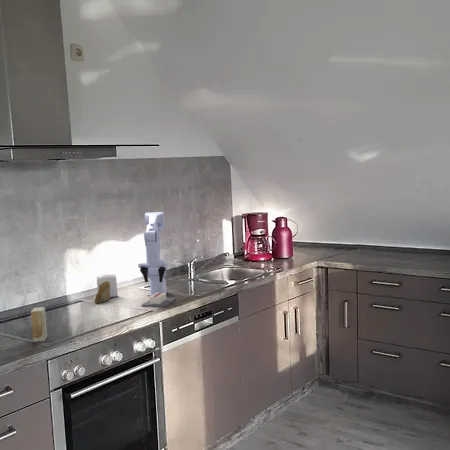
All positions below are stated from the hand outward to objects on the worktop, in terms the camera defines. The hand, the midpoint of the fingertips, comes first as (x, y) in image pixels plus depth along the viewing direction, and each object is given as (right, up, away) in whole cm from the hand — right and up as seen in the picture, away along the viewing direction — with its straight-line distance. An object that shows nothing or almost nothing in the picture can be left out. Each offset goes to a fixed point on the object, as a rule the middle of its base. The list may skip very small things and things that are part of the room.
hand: (153, 282), depth 281 cm
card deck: (+3, -9, -5) cm, 11 cm away
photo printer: (-25, -10, +14) cm, 30 cm away
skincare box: (-37, -17, -58) cm, 71 cm away
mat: (+3, -10, -5) cm, 11 cm away
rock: (-27, -10, +6) cm, 29 cm away
